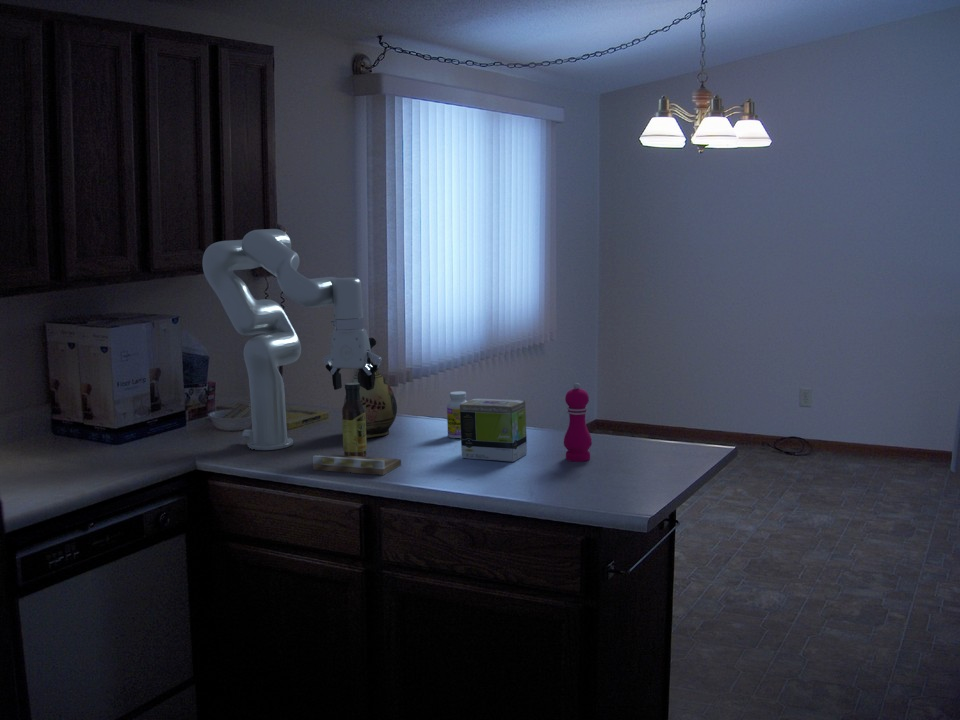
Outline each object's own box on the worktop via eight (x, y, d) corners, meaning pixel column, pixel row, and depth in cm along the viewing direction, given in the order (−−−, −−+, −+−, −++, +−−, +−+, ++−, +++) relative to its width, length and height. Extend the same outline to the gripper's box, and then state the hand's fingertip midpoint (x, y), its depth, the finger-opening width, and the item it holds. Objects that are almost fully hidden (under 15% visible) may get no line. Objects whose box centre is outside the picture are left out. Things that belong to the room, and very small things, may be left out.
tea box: (527, 454, 266) (526, 399, 264) (513, 463, 257) (511, 406, 255) (476, 450, 272) (474, 396, 270) (460, 458, 263) (458, 403, 261)
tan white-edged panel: (313, 469, 256) (312, 456, 256) (333, 460, 266) (332, 447, 265) (383, 475, 249) (382, 461, 248) (401, 465, 258) (400, 451, 258)
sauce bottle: (362, 459, 265) (359, 385, 262) (340, 459, 266) (336, 385, 263) (370, 453, 271) (367, 381, 268) (348, 453, 273) (344, 381, 270)
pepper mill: (560, 461, 257) (559, 384, 254) (568, 454, 264) (566, 379, 261) (588, 463, 255) (587, 385, 252) (594, 456, 261) (593, 380, 258)
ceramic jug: (352, 428, 303) (348, 330, 299) (402, 429, 301) (398, 329, 296) (337, 442, 286) (331, 338, 282) (390, 442, 284) (385, 337, 280)
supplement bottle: (443, 437, 288) (441, 393, 286) (457, 433, 293) (455, 389, 291) (461, 440, 284) (459, 395, 282) (475, 435, 289) (474, 391, 287)
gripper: (313, 326, 263) (318, 391, 265) (372, 326, 257) (376, 392, 259) (328, 323, 270) (332, 386, 272) (385, 323, 264) (389, 387, 266)
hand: (353, 389), depth 266 cm, fingers open, 9 cm apart
